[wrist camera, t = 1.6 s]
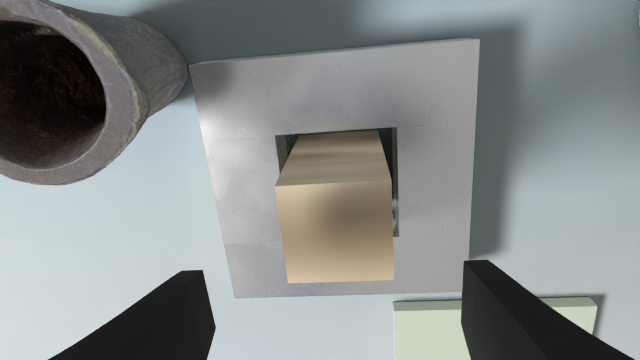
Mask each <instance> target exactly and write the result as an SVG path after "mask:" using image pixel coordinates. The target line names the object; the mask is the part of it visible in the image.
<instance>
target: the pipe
mask: <svg viewBox="0 0 640 360" xmlns="http://www.w3.org/2000/svg"><path fill="white" fill-rule="evenodd" d="M187 74H188V69H187V65H186V62H185V60H184V58H183V57H182V55H181V54H180V52H179V50H178V49H177V48H176V47H175V45H174V44H173V43H172V42H171V41H170V40H169V39H168V38H167V37H166V36H165V35H164V34H163V33H162V32H160V31H158V30H157V29H155V28H153V27H152V26H150V25H148V24H146V23H144V22H141V21H139V20H136V19H132V18H127V17H121V16H112V15H106V14H99V13H91V12H87V11H83V10H79V9H75V8H72V7H68V6H64V5H60V4H57V3H53V2H51V1H49V0H0V174H2V175H4V176H6V177H8V178H10V179H13V180H17V181H21V182H26V183H30V184H38V185H67V184H72V183H75V182H78V181H81V180H84V179H86V178H89V177H91V176H93V175H95V174H96V173H98V172H99V171H101V170H102V169H103V168H105V167H106V166H107V165H108V164H110V163H111V162H112V161H113V160H114V159H115V158H116V157H118V156H119V155H120V154H121V152H122V151H123V150H124V149H125V148H126V147H127V146H128V145H129V144H130V143H131V142H132V141H133V139H134V138H135V136H136V135H137V133H138V132H139V130H140V129H141V127H142V126H143V124H144V122H145V121H146V119H147V118H148V117H150V116H151V115H153V114H155V113H156V112H158V111H159V110H161V109H163V108H164V107H166V106H167V105H169V104H170V103H171V102H172V101H173V100H174V99H175V97H176V96H177V95H178V94H179V92H180V91H181V89H182V87H183V85H184V83H185V81H186V78H187Z"/></svg>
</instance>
